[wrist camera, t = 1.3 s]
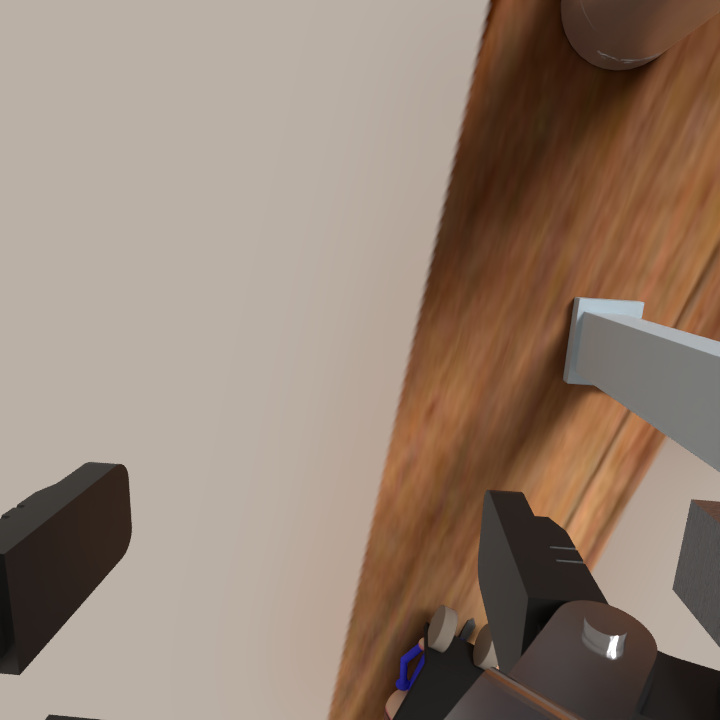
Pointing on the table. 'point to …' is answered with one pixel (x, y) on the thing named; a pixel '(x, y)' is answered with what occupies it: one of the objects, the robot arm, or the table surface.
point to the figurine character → (440, 669)
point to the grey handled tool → (701, 566)
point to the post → (649, 371)
